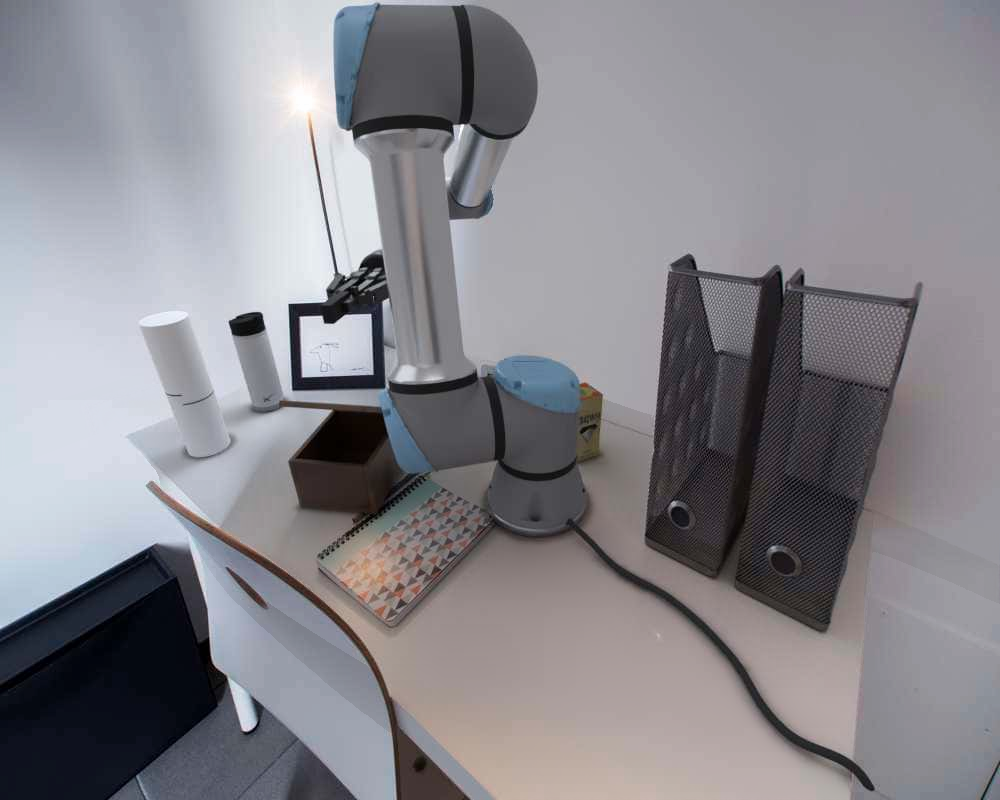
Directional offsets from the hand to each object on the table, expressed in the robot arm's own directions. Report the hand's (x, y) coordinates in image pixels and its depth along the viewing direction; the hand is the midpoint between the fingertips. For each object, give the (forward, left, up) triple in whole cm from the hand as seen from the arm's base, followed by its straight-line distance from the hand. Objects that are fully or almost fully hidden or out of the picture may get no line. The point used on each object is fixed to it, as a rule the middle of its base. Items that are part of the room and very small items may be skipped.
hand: (327, 314), depth 74 cm
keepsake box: (0, 0, -29) cm, 29 cm away
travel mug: (+36, +2, -29) cm, 46 cm away
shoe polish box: (-19, -33, -29) cm, 48 cm away
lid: (0, 0, -16) cm, 16 cm away
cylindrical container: (+28, +16, -29) cm, 43 cm away
